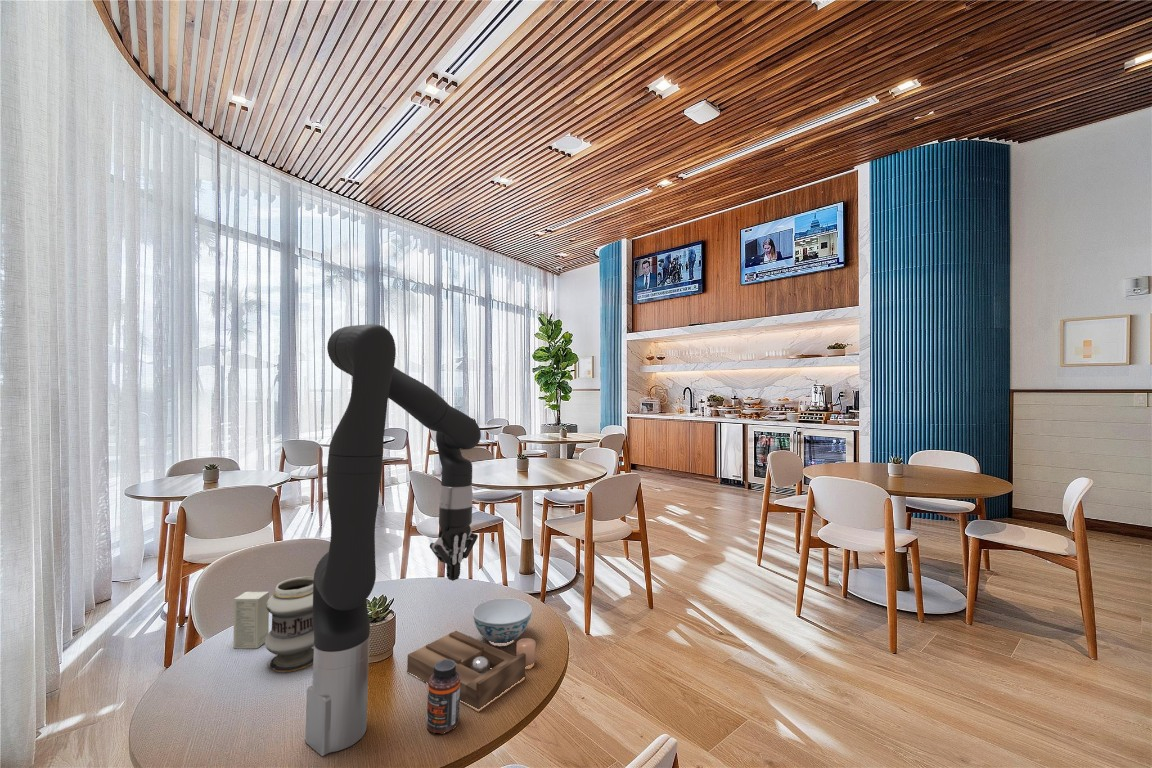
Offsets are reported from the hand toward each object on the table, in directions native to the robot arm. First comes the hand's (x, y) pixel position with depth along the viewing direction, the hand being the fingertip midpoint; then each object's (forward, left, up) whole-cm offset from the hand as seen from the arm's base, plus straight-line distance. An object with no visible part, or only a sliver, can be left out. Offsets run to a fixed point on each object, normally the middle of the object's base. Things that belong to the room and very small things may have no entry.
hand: (453, 579), depth 111 cm
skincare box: (-23, +46, -20) cm, 56 cm away
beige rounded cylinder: (+11, -14, -20) cm, 26 cm away
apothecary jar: (-20, +30, -20) cm, 42 cm away
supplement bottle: (-14, -15, -20) cm, 29 cm away
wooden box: (-1, -6, -20) cm, 20 cm away
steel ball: (+1, -9, -18) cm, 20 cm away
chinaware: (+16, -1, -20) cm, 25 cm away
